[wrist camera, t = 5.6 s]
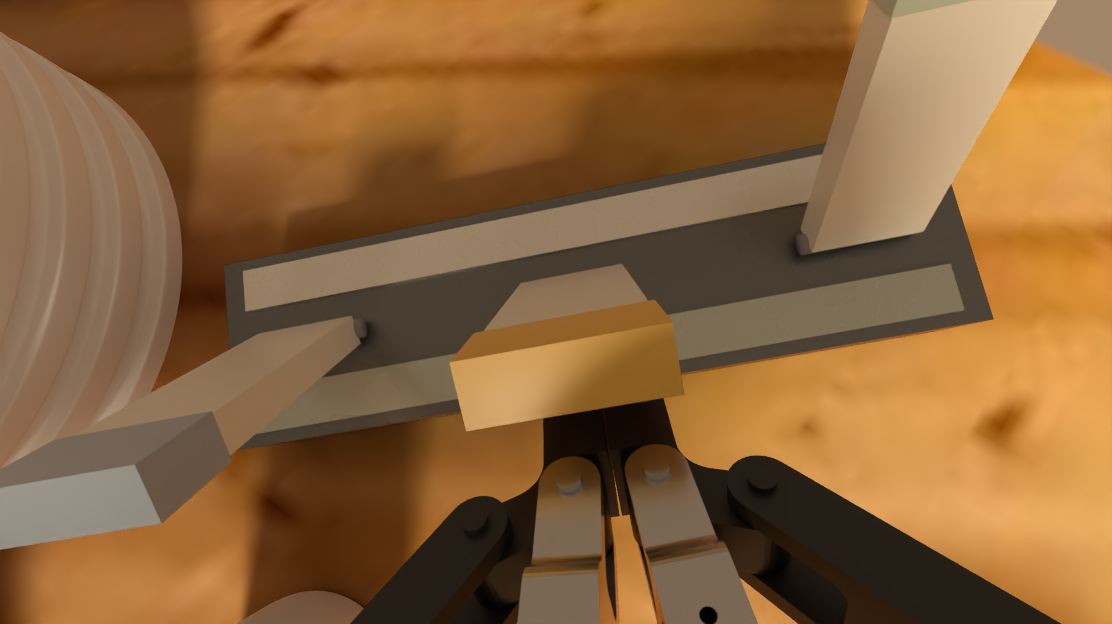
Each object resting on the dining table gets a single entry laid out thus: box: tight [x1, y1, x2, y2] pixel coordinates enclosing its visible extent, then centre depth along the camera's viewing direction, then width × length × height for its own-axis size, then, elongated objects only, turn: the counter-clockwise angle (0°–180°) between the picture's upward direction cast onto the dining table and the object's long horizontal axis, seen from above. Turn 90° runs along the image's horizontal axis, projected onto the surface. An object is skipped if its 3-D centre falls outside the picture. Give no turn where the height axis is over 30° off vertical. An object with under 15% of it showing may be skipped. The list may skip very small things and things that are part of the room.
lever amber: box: [449, 264, 684, 431], centre depth 16 cm, size 1×4×12 cm, turn 100°
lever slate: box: [0, 316, 368, 550], centre depth 17 cm, size 1×4×12 cm, turn 100°
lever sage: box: [795, 0, 1057, 255], centre depth 16 cm, size 1×4×12 cm, turn 99°
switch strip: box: [224, 143, 993, 450], centre depth 24 cm, size 8×30×4 cm, turn 100°
